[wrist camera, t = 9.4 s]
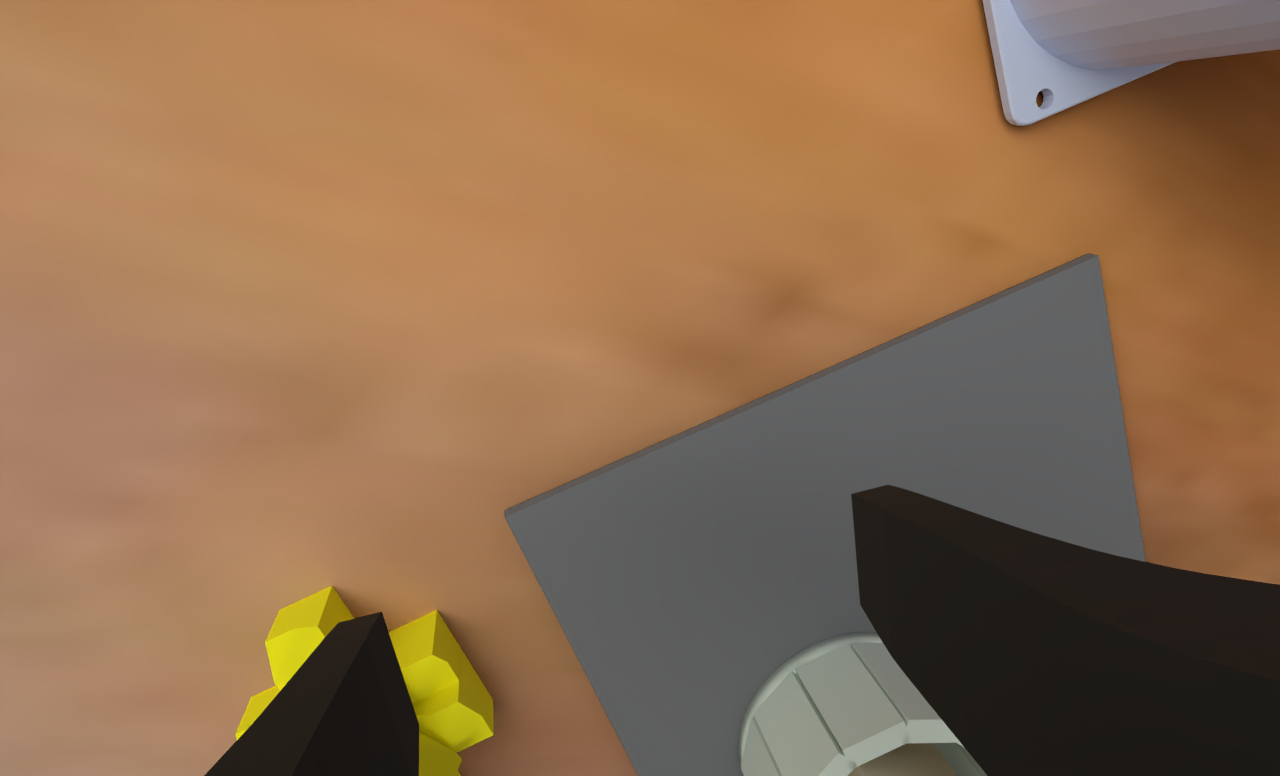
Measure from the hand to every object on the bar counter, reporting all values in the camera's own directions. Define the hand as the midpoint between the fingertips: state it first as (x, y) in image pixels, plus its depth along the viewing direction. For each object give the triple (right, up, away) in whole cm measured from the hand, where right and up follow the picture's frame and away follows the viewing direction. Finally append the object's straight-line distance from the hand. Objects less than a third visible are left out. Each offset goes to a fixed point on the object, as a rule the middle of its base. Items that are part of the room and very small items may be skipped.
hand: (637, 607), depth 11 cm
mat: (+8, -4, +14) cm, 17 cm away
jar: (+7, -8, +15) cm, 18 cm away
